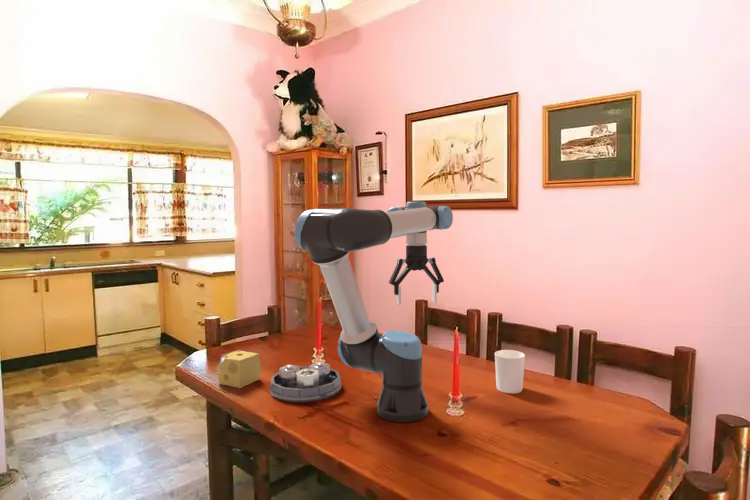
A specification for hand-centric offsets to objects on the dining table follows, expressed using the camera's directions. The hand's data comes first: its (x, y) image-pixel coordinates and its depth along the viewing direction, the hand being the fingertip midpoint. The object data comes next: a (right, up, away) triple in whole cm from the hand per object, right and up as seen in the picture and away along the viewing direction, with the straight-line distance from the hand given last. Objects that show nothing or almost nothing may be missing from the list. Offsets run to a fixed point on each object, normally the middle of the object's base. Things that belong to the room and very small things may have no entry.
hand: (416, 302), depth 170 cm
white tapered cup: (+30, -28, -13) cm, 43 cm away
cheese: (-63, -28, -3) cm, 69 cm away
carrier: (-39, -28, -11) cm, 49 cm away
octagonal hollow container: (-37, -27, -17) cm, 49 cm away
